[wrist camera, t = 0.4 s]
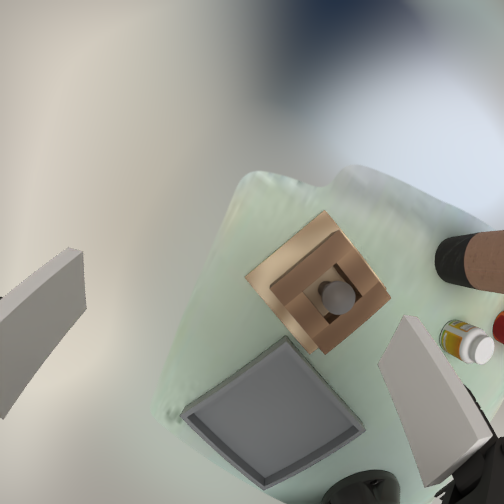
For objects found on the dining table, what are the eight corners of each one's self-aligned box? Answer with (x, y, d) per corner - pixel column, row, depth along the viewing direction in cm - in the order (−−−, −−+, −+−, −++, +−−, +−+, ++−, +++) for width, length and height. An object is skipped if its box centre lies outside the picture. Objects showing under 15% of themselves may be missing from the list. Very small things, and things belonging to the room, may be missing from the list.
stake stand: (383, 287, 40) (432, 303, 25) (308, 351, 41) (323, 397, 26) (323, 211, 41) (348, 188, 26) (245, 276, 42) (228, 288, 27)
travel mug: (424, 256, 40) (513, 257, 20) (454, 226, 39) (542, 211, 19) (447, 294, 39) (535, 315, 19) (475, 263, 39) (563, 267, 19)
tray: (361, 421, 40) (366, 430, 37) (264, 479, 41) (263, 490, 38) (285, 335, 41) (286, 341, 38) (184, 407, 42) (179, 415, 39)
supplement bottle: (449, 357, 39) (480, 376, 29) (433, 338, 39) (465, 356, 30) (468, 332, 39) (502, 346, 29) (453, 312, 39) (488, 324, 29)
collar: (379, 293, 32) (391, 297, 28) (319, 343, 33) (325, 354, 29) (331, 232, 33) (339, 229, 29) (270, 284, 33) (269, 288, 29)
